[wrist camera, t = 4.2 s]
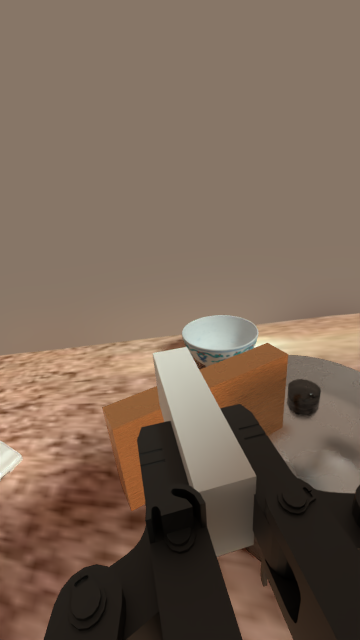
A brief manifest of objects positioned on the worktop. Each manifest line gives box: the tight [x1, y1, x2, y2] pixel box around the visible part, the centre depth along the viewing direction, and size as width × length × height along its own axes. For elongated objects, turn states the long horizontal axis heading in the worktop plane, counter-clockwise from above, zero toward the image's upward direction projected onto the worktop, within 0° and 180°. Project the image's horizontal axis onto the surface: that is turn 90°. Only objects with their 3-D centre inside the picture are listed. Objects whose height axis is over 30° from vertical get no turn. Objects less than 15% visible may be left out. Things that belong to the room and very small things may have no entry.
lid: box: [102, 343, 360, 511], centre depth 27 cm, size 28×19×9 cm, turn 118°
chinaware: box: [182, 315, 258, 367], centre depth 61 cm, size 15×15×8 cm
